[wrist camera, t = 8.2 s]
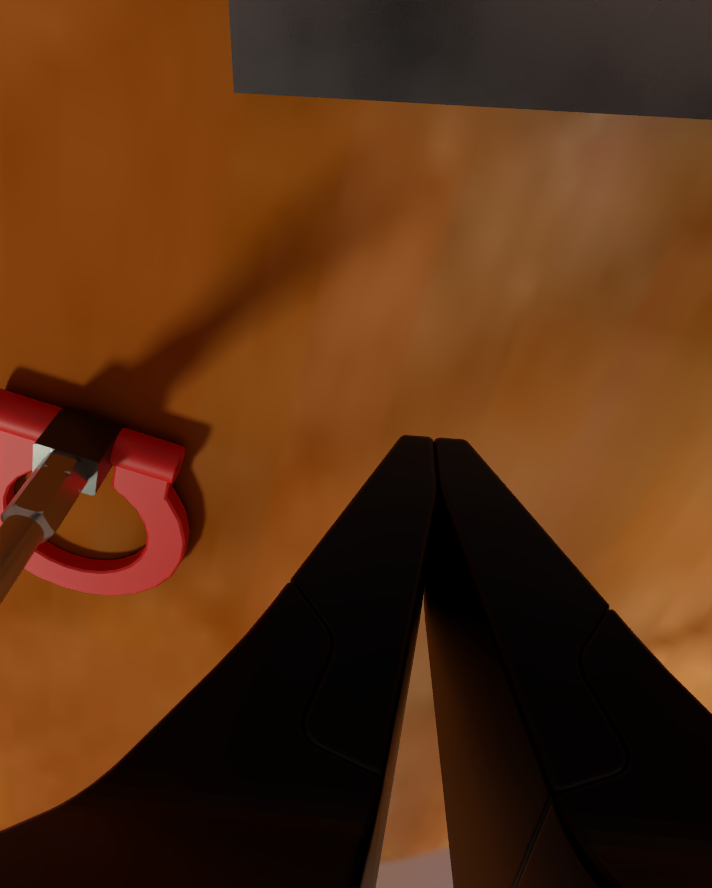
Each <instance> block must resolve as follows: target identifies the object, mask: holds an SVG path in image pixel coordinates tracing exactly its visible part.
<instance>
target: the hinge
mask: <svg viewBox="0 0 712 888" xmlns="http://www.w3.org/2000/svg"><path fill="white" fill-rule="evenodd" d="M229 14H230V31H231V48H232V65H233V82H234V93H252V94H269V95H287V96H305V97H322V98H340V99H357V100H375V101H393V102H410V103H428V104H446V105H463V106H481V107H498V108H516V109H534V110H551V111H569V112H586V113H604V114H622V115H639V116H657V117H675V118H692V119H710V120H712V0H229Z"/></svg>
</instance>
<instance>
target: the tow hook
mask: <svg viewBox="0 0 712 888" xmlns="http://www.w3.org/2000/svg"><path fill="white" fill-rule="evenodd" d="M184 455H185V446H182V445H178V444H175V443H172V442H169V441H166V440H162V439H159V438H156V437H153V436H150V435H147V434H143V433H140V432H137V431H134V430H131V429H128V428H125V426H124V425H123V424H121V423H118V422H115V421H112V420H109V419H106V418H102V417H99V416H96V415H93V414H90V413H87V412H83V411H80V410H77V409H74V408H71V407H64V408H61V407H58V406H55V405H51V404H48V403H45V402H42V401H39V400H35V399H32V398H29V397H26V396H23V395H20V394H16V393H13V392H10V391H7V390H4V389H0V604H1V603H2V601H3V600H4V598H5V597H6V595H7V594H8V592H9V590H10V589H11V587H12V586H13V584H14V583H15V581H16V580H17V578H18V577H19V575H20V574H21V572H22V570H23V569H24V568H25V569H26V570H28V571H30V572H31V573H33V574H35V575H36V576H38V577H41V578H43V579H45V580H48V581H50V582H52V583H55V584H57V585H60V586H62V587H66V588H70V589H74V590H78V591H82V592H86V593H93V594H104V595H121V594H132V593H138V592H141V591H144V590H147V589H150V588H153V587H156V586H158V585H159V584H161V583H162V582H164V581H165V580H166V579H168V578H169V577H171V576H172V575H173V573H174V572H175V570H176V569H177V567H178V566H179V564H180V563H181V561H182V559H183V557H184V555H185V552H186V550H187V545H188V539H189V533H190V529H189V524H188V518H187V513H186V510H185V508H184V506H183V504H182V502H181V500H180V499H179V497H178V495H177V493H176V491H175V489H174V488H173V487H172V484H173V482H174V481H175V480H176V478H177V476H178V474H179V471H180V469H181V466H182V463H183V459H184ZM112 466H114V473H113V481H112V485H113V487H114V488H115V490H116V491H117V492H119V493H120V494H122V495H123V496H124V497H125V498H126V499H127V500H128V501H129V502H130V503H131V504H132V505H133V506H134V507H135V508H136V510H137V512H138V513H139V515H140V517H141V518H142V520H143V522H144V525H145V529H146V533H147V541H146V546H145V547H144V548H142V549H141V550H140V551H138V552H137V553H136V554H134V555H131V556H128V557H126V558H123V559H114V560H98V559H90V558H86V557H82V556H78V555H74V554H72V553H70V552H67V551H65V550H63V549H60V548H58V547H56V546H55V545H53V544H51V543H50V542H48V541H47V539H49V538H50V537H51V536H52V535H53V534H54V533H55V532H56V531H57V529H58V528H59V526H60V525H61V523H62V521H63V520H64V518H65V517H66V515H67V514H68V512H69V510H70V509H71V507H72V506H73V504H74V503H75V501H76V499H77V498H78V496H79V493H80V492H82V493H85V494H89V495H95V493H96V492H97V490H98V489H99V487H100V485H101V484H102V482H103V480H104V479H105V477H106V475H107V474H108V472H109V470H110V469H111V467H112ZM31 471H32V474H31V476H30V477H29V478H28V479H27V480H26V482H25V483H24V484H23V486H22V487H21V488H20V490H19V491H18V492H17V494H16V495H15V496H14V486H15V483H16V480H17V479H18V478H19V477H21V476H23V475H25V474H27V473H29V472H31Z"/></svg>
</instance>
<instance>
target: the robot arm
mask: <svg viewBox="0 0 712 888" xmlns="http://www.w3.org/2000/svg"><path fill="white" fill-rule="evenodd" d="M423 594H424V611H425V623H426V632H427V642H428V651H429V661H430V670H431V679H432V689H433V698H434V708H435V717H436V727H437V736H438V746H439V755H440V764H441V774H442V783H443V793H444V802H445V812H446V821H447V831H448V840H449V849H450V859H451V868H452V878H453V887H454V888H712V714H711V713H710V712H709V711H708V710H707V709H706V708H705V707H704V706H703V705H702V704H701V703H700V702H699V701H698V700H697V699H696V698H695V697H694V696H693V695H692V694H691V693H690V692H689V691H688V690H687V689H686V688H685V687H684V686H683V685H682V684H681V683H680V682H679V681H678V680H677V679H676V678H675V677H674V676H673V675H672V674H671V673H670V672H669V671H668V670H667V669H666V668H665V667H664V665H663V664H662V663H661V662H660V661H659V660H658V659H657V658H656V657H655V656H654V655H653V653H652V652H651V651H650V650H649V649H648V648H647V647H646V646H645V645H644V644H643V643H642V641H641V640H640V639H639V638H638V637H637V636H636V635H635V634H634V633H633V631H632V630H631V629H630V628H629V627H628V626H627V625H626V623H625V622H624V621H623V620H622V619H621V618H620V617H619V615H618V614H617V613H616V612H615V611H614V610H611V609H610V610H609V604H608V603H607V602H606V601H605V600H604V598H603V597H602V596H601V595H600V594H599V593H598V592H597V590H596V589H595V588H594V587H593V586H592V585H591V583H590V582H589V581H588V580H587V579H586V578H585V577H584V575H583V574H582V573H581V572H580V571H579V570H578V568H577V567H576V566H575V565H574V564H573V563H572V562H571V560H570V559H569V558H568V557H567V556H566V555H565V553H564V552H563V551H562V550H561V549H560V548H559V547H558V545H557V544H556V543H555V542H554V541H553V540H552V538H551V537H550V536H549V535H548V534H547V533H546V532H545V530H544V529H543V528H542V527H541V526H540V525H539V523H538V522H537V521H536V520H535V519H534V518H533V517H532V515H531V514H530V513H529V512H528V511H527V510H526V508H525V507H524V506H523V505H522V504H521V503H520V502H519V500H518V499H517V498H516V497H515V496H514V495H513V493H512V492H511V491H510V490H509V489H508V488H507V487H506V485H505V484H504V483H503V482H502V481H501V480H500V478H499V477H498V476H497V475H496V474H495V473H494V472H493V470H492V469H491V468H490V467H489V466H488V465H487V463H486V462H485V461H484V460H483V459H482V458H481V457H480V455H479V454H478V453H477V452H476V451H475V450H474V448H473V447H472V446H471V445H470V444H469V443H468V442H467V441H466V440H463V439H451V438H437V439H435V441H434V442H433V440H432V439H431V438H430V437H424V436H411V435H403V436H401V437H400V438H399V440H398V441H397V442H396V443H395V445H394V446H393V447H392V449H391V450H390V451H389V452H388V454H387V455H386V456H385V458H384V459H383V460H382V462H381V463H380V464H379V465H378V467H377V468H376V469H375V471H374V472H373V473H372V475H371V476H370V477H369V478H368V480H367V481H366V482H365V484H364V485H363V486H362V487H361V489H360V490H359V491H358V493H357V494H356V495H355V497H354V498H353V499H352V500H351V502H350V503H349V504H348V506H347V507H346V508H345V510H344V511H343V512H342V513H341V515H340V516H339V517H338V519H337V520H336V521H335V523H334V524H333V525H332V526H331V528H330V529H329V530H328V532H327V533H326V534H325V535H324V537H323V538H322V539H321V541H320V542H319V543H318V545H317V546H316V547H315V548H314V550H313V551H312V552H311V554H310V555H309V556H308V558H307V559H306V560H305V561H304V563H303V564H302V565H301V567H300V568H299V569H298V570H297V572H296V573H295V574H294V576H293V577H292V578H291V581H290V583H287V584H286V586H285V587H284V588H283V589H282V591H281V592H280V593H279V595H278V596H277V597H276V599H275V600H274V601H273V602H272V604H271V605H270V606H269V607H268V609H267V610H266V611H265V612H264V613H263V615H262V616H261V617H260V618H259V619H258V621H257V622H256V623H255V624H254V625H253V627H252V628H251V629H250V630H249V631H248V633H247V634H246V635H245V636H244V637H243V638H242V639H241V640H240V641H239V642H238V643H237V644H236V645H235V646H234V647H233V649H232V650H231V651H230V652H229V653H228V654H227V655H226V656H225V657H224V658H223V659H222V660H221V661H220V662H219V663H218V664H217V665H216V666H215V667H214V668H213V669H212V670H211V671H210V672H209V673H208V674H207V675H206V676H205V677H204V678H203V679H202V680H201V681H200V682H199V683H198V684H197V685H196V686H195V687H194V688H193V689H192V690H191V691H190V692H189V693H188V694H187V695H186V696H185V697H184V698H183V699H182V700H181V701H180V702H179V703H178V704H177V705H176V706H175V707H174V708H173V709H172V710H171V711H170V712H169V713H168V714H167V715H166V716H165V717H164V718H163V719H162V720H161V721H160V722H159V723H158V724H157V725H155V726H154V727H153V728H152V729H151V730H150V731H149V732H148V733H147V734H146V735H145V736H144V737H143V738H142V739H141V740H140V741H139V742H138V743H137V744H136V745H135V746H134V747H133V748H132V749H131V750H130V751H129V752H128V753H127V754H126V755H125V756H124V757H123V758H122V759H121V760H120V761H119V762H118V763H117V764H115V765H114V766H113V767H112V768H111V769H110V770H109V771H107V772H106V773H105V774H104V775H103V776H101V777H100V778H99V779H98V780H96V781H95V782H94V783H92V784H91V785H90V786H88V787H87V788H85V789H84V790H82V791H81V792H80V793H78V794H77V795H75V796H74V797H72V798H70V799H69V800H67V801H65V802H64V803H62V804H60V805H58V806H56V807H54V808H52V809H50V810H48V811H46V812H43V813H41V814H39V815H37V816H34V817H32V818H30V819H27V820H25V821H23V822H20V823H18V824H16V825H13V826H11V827H9V828H7V829H4V830H2V831H0V888H376V882H377V876H378V870H379V864H380V858H381V852H382V846H383V840H384V834H385V828H386V822H387V816H388V809H389V803H390V797H391V791H392V785H393V779H394V773H395V767H396V761H397V755H398V749H399V743H400V737H401V731H402V725H403V719H404V713H405V707H406V701H407V695H408V688H409V682H410V676H411V670H412V664H413V658H414V652H415V646H416V640H417V634H418V628H419V622H420V615H421V608H422V601H423Z"/></svg>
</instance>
